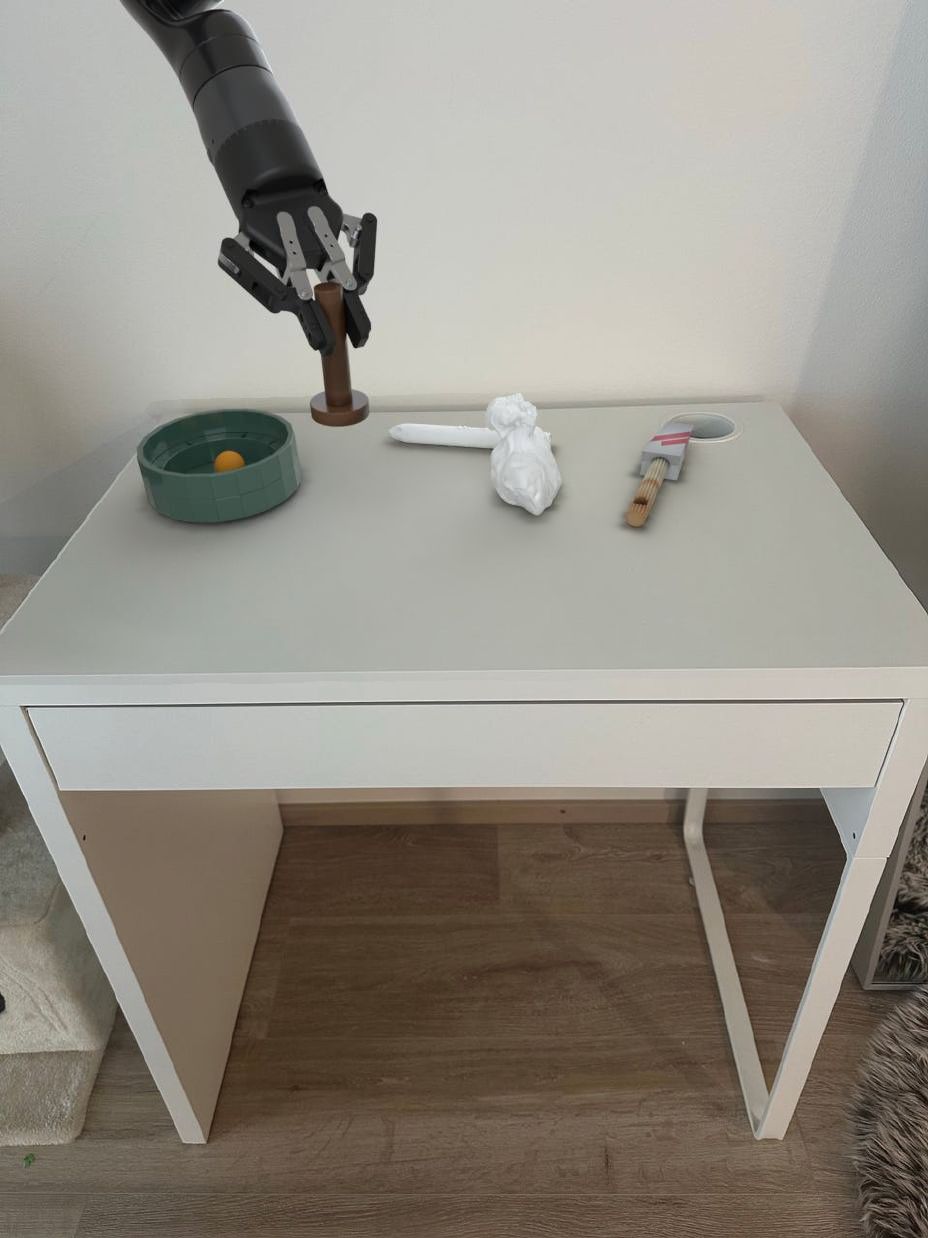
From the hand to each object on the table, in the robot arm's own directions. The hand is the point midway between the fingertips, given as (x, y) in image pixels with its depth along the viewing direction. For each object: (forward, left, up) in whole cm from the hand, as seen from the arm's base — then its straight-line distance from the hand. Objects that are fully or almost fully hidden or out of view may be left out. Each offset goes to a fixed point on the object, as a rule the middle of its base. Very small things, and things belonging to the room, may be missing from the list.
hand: (346, 345), depth 72 cm
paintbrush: (+22, -22, -20) cm, 37 cm away
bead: (+9, +20, -18) cm, 28 cm away
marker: (+24, -1, -20) cm, 31 cm away
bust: (+15, -10, -20) cm, 27 cm away
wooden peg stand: (+1, +2, -6) cm, 7 cm away
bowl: (+8, +20, -20) cm, 29 cm away
